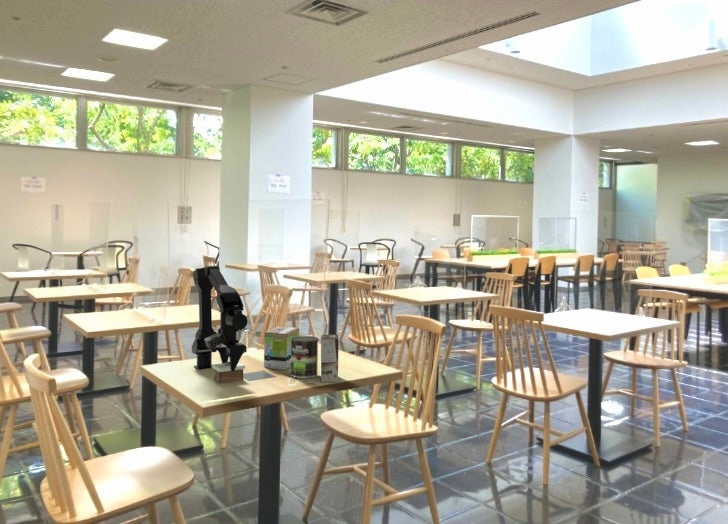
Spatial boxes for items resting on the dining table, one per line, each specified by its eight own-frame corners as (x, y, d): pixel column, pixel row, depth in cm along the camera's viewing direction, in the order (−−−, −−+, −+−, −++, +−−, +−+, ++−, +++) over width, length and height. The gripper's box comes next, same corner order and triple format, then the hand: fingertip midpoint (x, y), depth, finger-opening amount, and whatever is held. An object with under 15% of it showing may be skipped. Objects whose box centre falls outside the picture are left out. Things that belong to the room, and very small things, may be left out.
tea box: (287, 370, 234) (287, 333, 233) (263, 368, 236) (263, 331, 235) (299, 361, 248) (299, 326, 247) (276, 360, 250) (276, 325, 249)
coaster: (236, 376, 223) (236, 374, 223) (263, 372, 229) (263, 370, 229) (249, 383, 214) (249, 380, 214) (276, 378, 220) (276, 376, 220)
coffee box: (338, 382, 217) (338, 338, 216) (320, 382, 216) (321, 338, 215) (337, 375, 226) (337, 334, 225) (320, 376, 225) (321, 334, 224)
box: (213, 381, 215) (213, 368, 215) (237, 378, 220) (237, 365, 220) (219, 385, 210) (219, 371, 210) (243, 381, 216) (243, 368, 215)
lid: (212, 370, 215) (212, 361, 215) (237, 367, 221) (237, 358, 221) (219, 374, 209) (219, 366, 209) (245, 371, 215) (245, 362, 214)
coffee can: (310, 379, 220) (311, 342, 219) (286, 377, 223) (286, 339, 222) (322, 373, 229) (322, 337, 228) (298, 370, 233) (298, 335, 232)
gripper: (197, 324, 217) (197, 366, 218) (216, 331, 202) (216, 377, 203) (226, 321, 223) (226, 362, 224) (247, 328, 208) (247, 372, 209)
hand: (228, 368), depth 215 cm, fingers closed on lid, 7 cm apart
